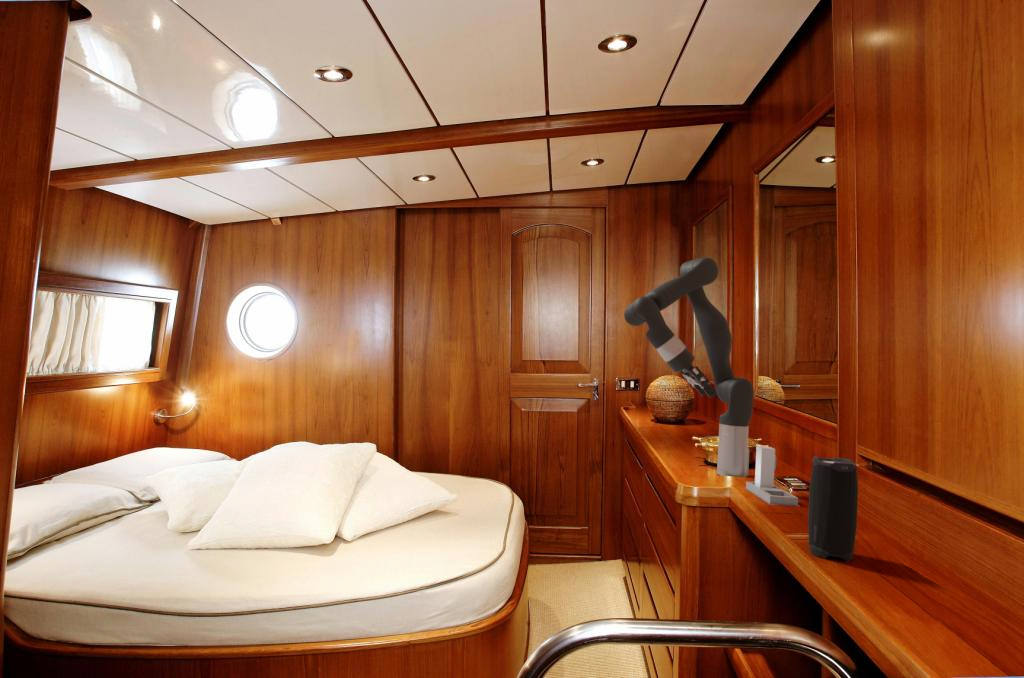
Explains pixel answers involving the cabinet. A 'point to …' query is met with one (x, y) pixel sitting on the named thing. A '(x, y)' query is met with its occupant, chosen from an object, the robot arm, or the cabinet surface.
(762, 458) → the plug
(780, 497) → the panel
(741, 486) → the cabinet surface
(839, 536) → the portable speaker
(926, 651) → the cabinet surface
